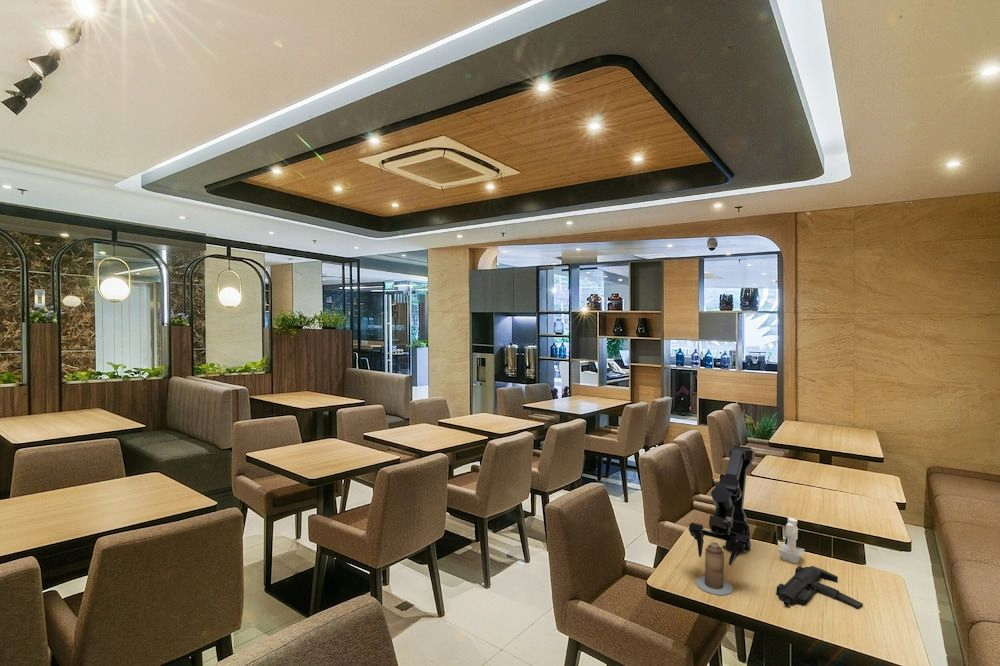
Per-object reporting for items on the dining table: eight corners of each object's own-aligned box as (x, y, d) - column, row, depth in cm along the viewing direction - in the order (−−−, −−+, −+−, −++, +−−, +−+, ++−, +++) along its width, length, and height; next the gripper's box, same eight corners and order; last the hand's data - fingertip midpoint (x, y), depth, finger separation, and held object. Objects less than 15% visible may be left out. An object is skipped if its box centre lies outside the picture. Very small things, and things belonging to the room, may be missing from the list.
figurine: (805, 558, 184) (806, 517, 184) (799, 567, 177) (801, 525, 177) (782, 552, 189) (784, 512, 189) (776, 560, 182) (778, 519, 182)
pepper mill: (707, 578, 168) (708, 538, 167) (725, 583, 165) (726, 543, 164) (702, 585, 163) (703, 544, 163) (721, 591, 160) (722, 549, 160)
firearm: (845, 636, 141) (769, 601, 156) (871, 597, 162) (801, 570, 176) (847, 624, 141) (770, 591, 155) (872, 587, 161) (802, 561, 176)
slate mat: (712, 574, 171) (712, 573, 171) (740, 590, 161) (740, 589, 161) (688, 581, 166) (688, 580, 166) (715, 598, 156) (715, 597, 156)
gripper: (690, 498, 173) (680, 541, 164) (750, 511, 162) (742, 558, 153) (696, 514, 179) (686, 556, 171) (754, 527, 168) (747, 573, 160)
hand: (714, 560), depth 163 cm, fingers open, 9 cm apart
